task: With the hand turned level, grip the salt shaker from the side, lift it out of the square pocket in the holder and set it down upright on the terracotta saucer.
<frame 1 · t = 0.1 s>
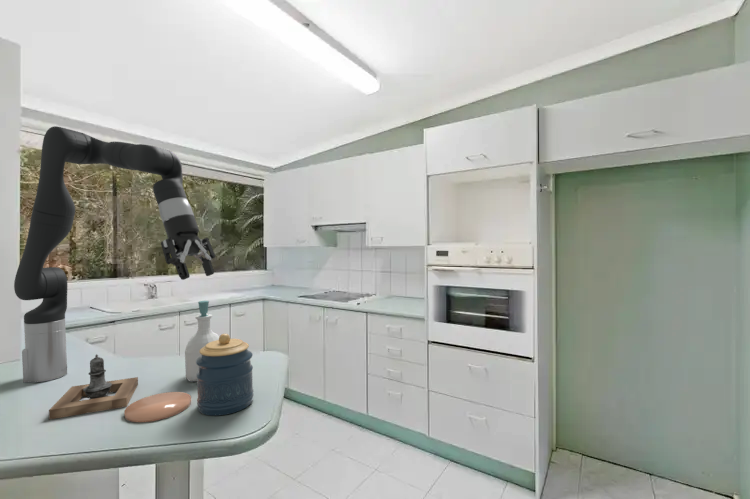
hand: (198, 276, 94), 31 cm above the table, tool tilted 20°, fingers open, 8 cm apart
pocket holder: (98, 400, 94), on the table
salt shaker: (98, 401, 94), resting in pocket holder
saucer: (159, 407, 89), on the table
canister: (226, 405, 91), on the table
soap bottle: (205, 377, 110), on the table
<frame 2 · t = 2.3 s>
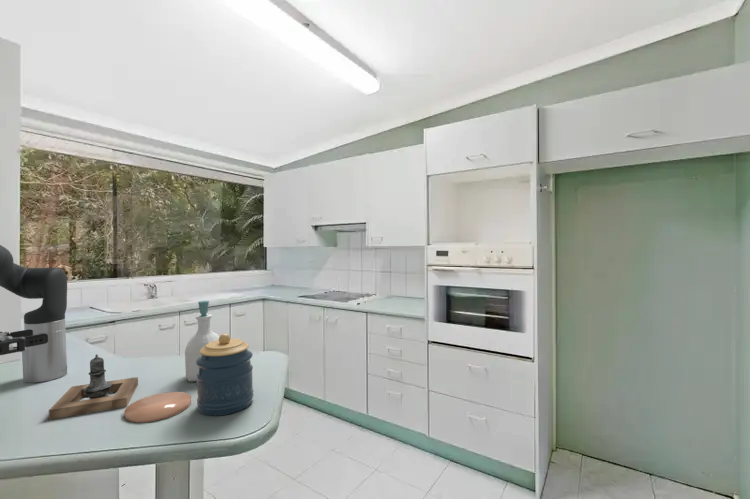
hand: (39, 335, 84), 19 cm above the table, tool horizontal, fingers open, 8 cm apart
nothing on the table moved.
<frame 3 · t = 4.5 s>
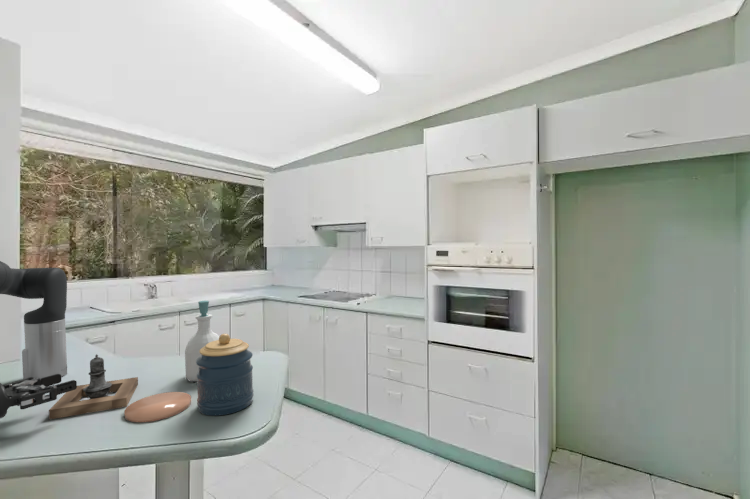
hand: (68, 380, 89), 7 cm above the table, tool horizontal, fingers open, 8 cm apart
nothing on the table moved.
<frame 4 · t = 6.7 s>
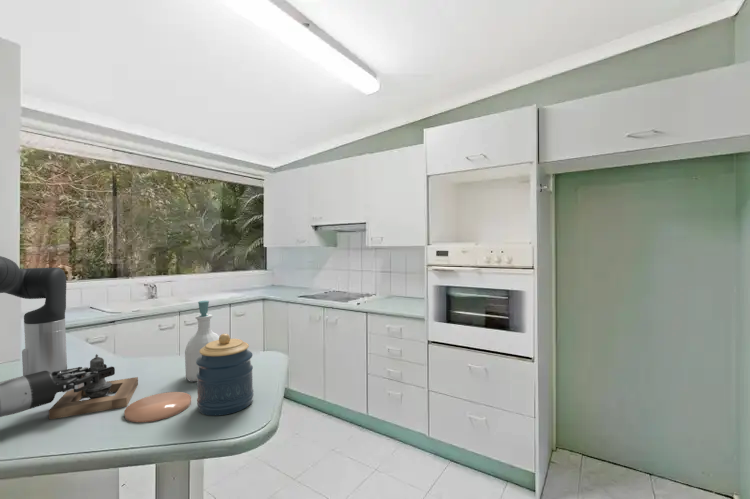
hand: (109, 369, 96), 7 cm above the table, tool horizontal, fingers closed on salt shaker, 3 cm apart
salt shaker: (98, 401, 94), resting in pocket holder, touching gripper
everything else where it was.
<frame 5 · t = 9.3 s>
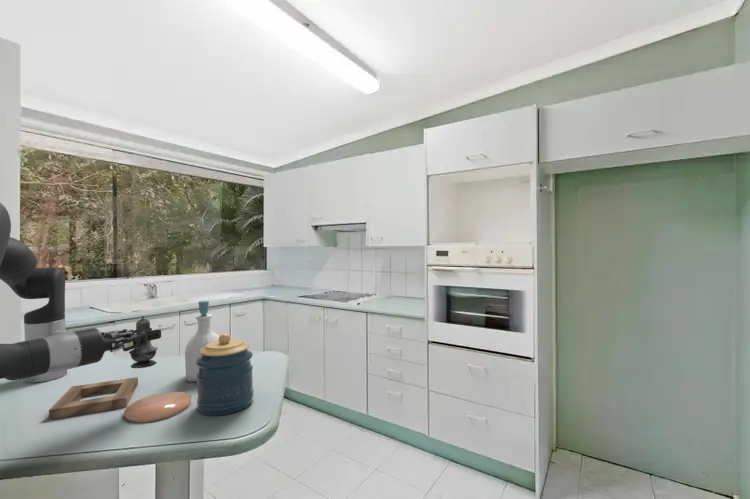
hand: (155, 332, 91), 18 cm above the table, tool horizontal, fingers closed on salt shaker, 3 cm apart
salt shaker: (143, 365, 89), point 11 cm above the table, touching gripper
everything else where it was.
when the fingers open (9 cm above the table, at t = 12.3 s): salt shaker stays where it is, resting on saucer.
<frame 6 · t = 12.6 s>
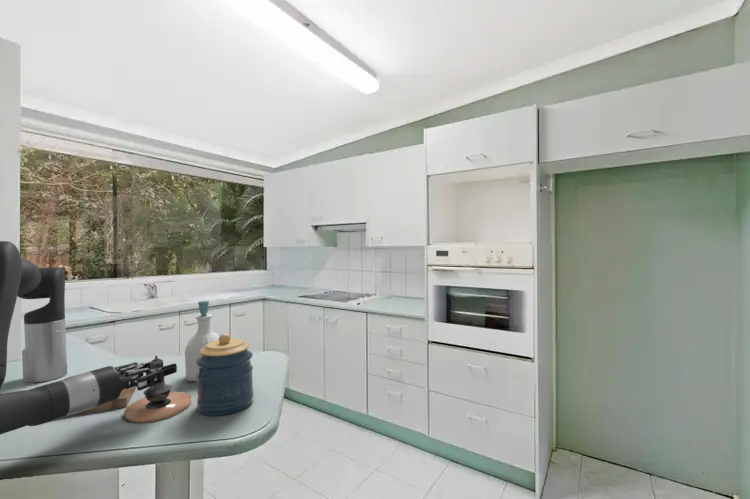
hand: (167, 365, 91), 10 cm above the table, tool horizontal, fingers open, 6 cm apart
salt shaker: (158, 404, 89), point 1 cm above the table, touching saucer
everything else where it was.
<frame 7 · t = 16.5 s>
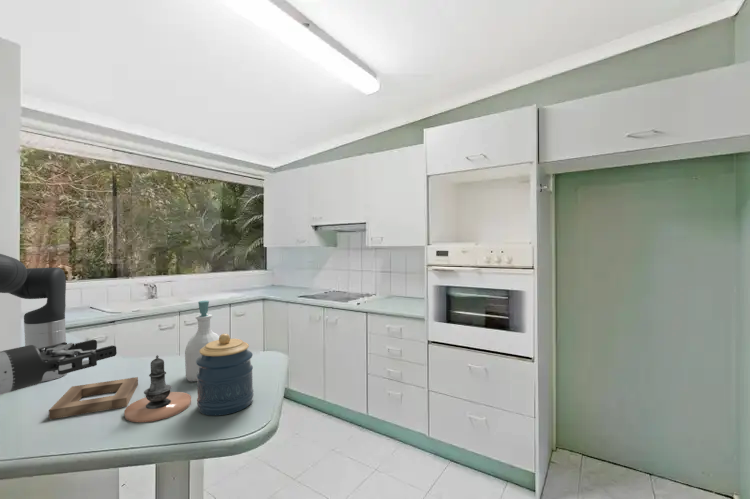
hand: (105, 347, 79), 18 cm above the table, tool horizontal, fingers open, 8 cm apart
nothing on the table moved.
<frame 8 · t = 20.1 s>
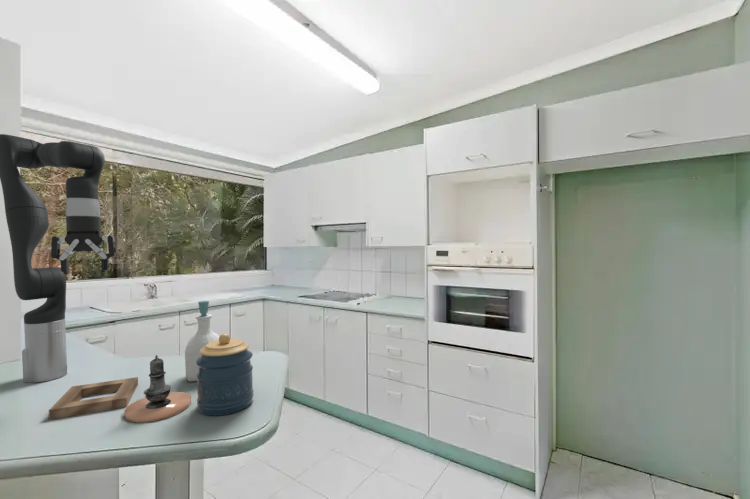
hand: (85, 273, 103), 32 cm above the table, tool pointing down, fingers open, 8 cm apart
nothing on the table moved.
at the end: salt shaker inside the target area on the saucer (0.1 cm from its centre), point 0.8 cm above the saucer's base; salt shaker tilted 1°; the gripper is holding nothing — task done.
